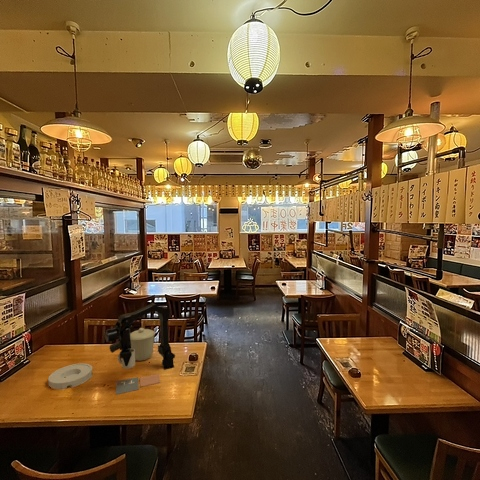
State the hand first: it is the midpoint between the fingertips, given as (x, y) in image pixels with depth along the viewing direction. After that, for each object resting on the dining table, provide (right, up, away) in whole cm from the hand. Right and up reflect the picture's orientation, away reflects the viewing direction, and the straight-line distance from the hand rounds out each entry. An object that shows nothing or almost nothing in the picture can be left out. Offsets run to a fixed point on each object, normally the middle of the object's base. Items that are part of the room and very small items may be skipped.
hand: (126, 362), depth 167 cm
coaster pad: (+13, -12, +3) cm, 18 cm away
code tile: (+1, -12, -2) cm, 13 cm away
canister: (-2, -11, +33) cm, 35 cm away
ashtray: (-37, -13, +8) cm, 40 cm away
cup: (0, -2, +1) cm, 2 cm away
